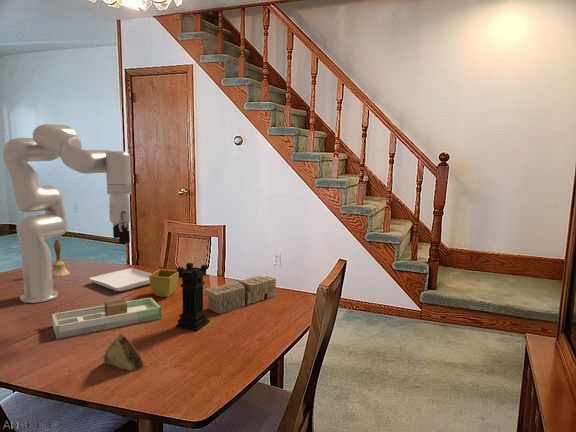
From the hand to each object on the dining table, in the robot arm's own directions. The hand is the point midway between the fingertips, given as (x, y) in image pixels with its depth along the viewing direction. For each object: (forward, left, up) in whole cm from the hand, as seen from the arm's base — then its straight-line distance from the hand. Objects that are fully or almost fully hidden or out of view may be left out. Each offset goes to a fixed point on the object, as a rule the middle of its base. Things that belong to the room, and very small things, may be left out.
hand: (121, 240), depth 147 cm
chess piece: (+17, +18, -27) cm, 37 cm away
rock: (+33, -8, -27) cm, 44 cm away
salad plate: (-38, +9, -28) cm, 48 cm away
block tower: (+7, +42, -28) cm, 51 cm away
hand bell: (-65, -13, -27) cm, 71 cm away
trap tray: (+1, -5, -27) cm, 28 cm away
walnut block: (+1, -3, -25) cm, 25 cm away
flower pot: (-16, +19, -27) cm, 37 cm away
